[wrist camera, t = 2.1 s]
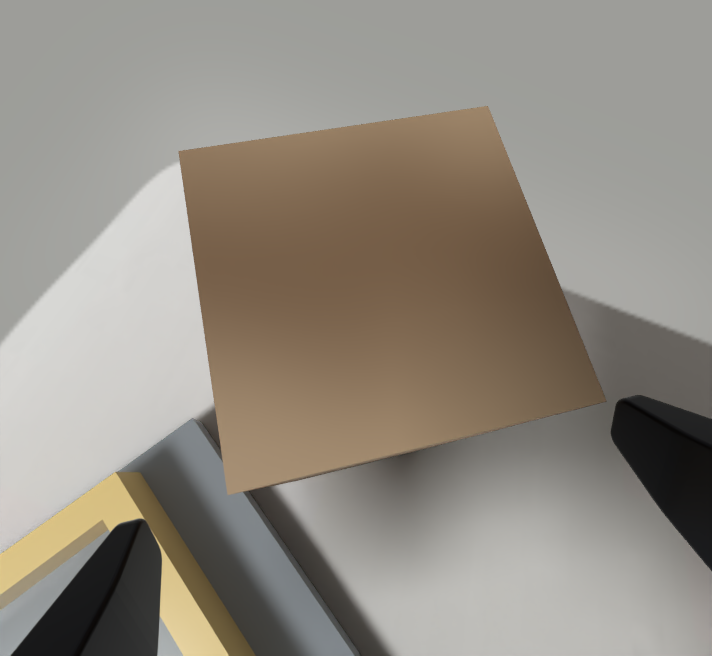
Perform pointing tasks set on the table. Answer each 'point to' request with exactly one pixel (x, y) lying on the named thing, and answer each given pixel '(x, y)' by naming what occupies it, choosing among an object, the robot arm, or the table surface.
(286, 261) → the walnut column
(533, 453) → the table surface
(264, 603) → the base board
